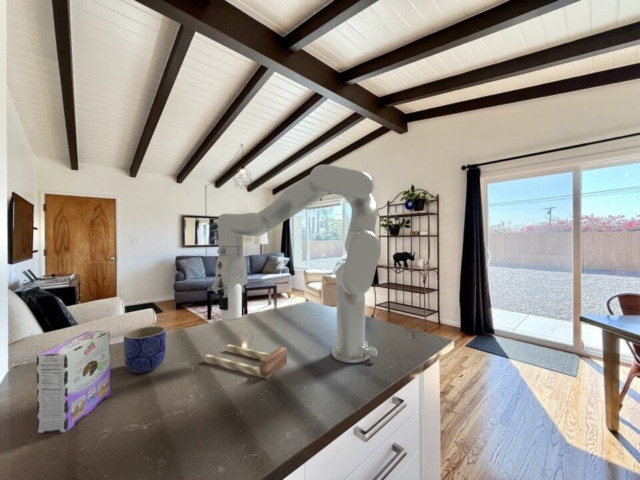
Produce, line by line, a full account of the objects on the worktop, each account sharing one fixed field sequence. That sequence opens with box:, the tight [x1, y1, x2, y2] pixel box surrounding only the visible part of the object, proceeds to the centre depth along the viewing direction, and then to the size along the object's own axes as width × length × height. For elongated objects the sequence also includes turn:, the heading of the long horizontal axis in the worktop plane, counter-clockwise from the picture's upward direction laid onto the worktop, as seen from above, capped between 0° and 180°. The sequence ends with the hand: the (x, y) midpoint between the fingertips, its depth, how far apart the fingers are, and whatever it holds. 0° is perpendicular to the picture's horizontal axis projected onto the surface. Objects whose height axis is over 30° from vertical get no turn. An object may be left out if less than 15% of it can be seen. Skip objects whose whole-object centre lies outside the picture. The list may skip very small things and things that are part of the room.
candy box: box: [36, 330, 112, 434], centre depth 64 cm, size 14×6×16 cm, turn 4°
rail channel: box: [204, 343, 288, 380], centre depth 88 cm, size 24×10×5 cm, turn 64°
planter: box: [123, 325, 167, 374], centre depth 85 cm, size 11×11×11 cm
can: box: [220, 284, 243, 321], centre depth 91 cm, size 6×6×12 cm
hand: (231, 306), depth 91 cm, fingers closed on can, 6 cm apart
